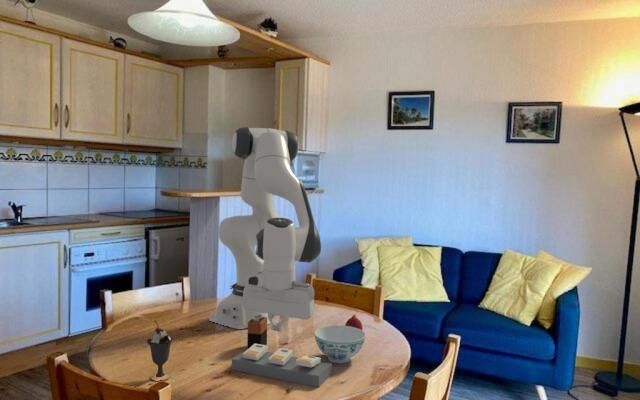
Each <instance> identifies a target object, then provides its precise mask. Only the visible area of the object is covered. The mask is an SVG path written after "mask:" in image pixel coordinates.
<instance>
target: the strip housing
mask: <svg viewBox="0 0 640 400" xmlns="http://www.w3.org/2000/svg"><path fill="white" fill-rule="evenodd" d="M247 350H248V349H247V348H246V350H244V351H242V352H241V353H239V354H238V355H236V356H234V357H232V358H231V370H232V369H233V370H232V371H235V370H237V372H240V371H241V373H245V372H246V374H251V375H255V376H256V375H257V376H260V377H266V378H270V379H276V380H280V381H285V382H290V383H296V384H300V385H305V386H309V387H310V386H311V387H315V388H320V387H321V386H322V385H323V384H324V383H325V382H326V381H327V380H328V379H329V377H331V376H332V372H333V369H332V367H333V364H332V362H325V361H320V363H318V364H316V366H315V367H314V366H313V367H306V366H301V365H296V360H297V359H299V358H300V357H298V356H294V355H293V356H292V357H291V358H290V359H289V361H288V362H286V363H285V364H284V365H279V364H274V363H269V358H270V357H271V356H272V355H273V354H274V353H275V352H269V351H267V352H266V353H265V354H263V356H262V357H260V358H259V359H258V360H252V359H247V358H243V353H244V352H246V351H247Z"/></svg>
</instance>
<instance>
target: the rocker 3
mask: <svg viewBox="0 0 640 400" xmlns="http://www.w3.org/2000/svg"><path fill="white" fill-rule="evenodd" d="M298 358H299V359H297V360H296V365H301V366H306V367H313V366H314V367H315V366H316V364H318V363H320V362H322V361H321V359H322V358H321V357H318V356H313V355H308V354H306V355H304V356H301V357H298Z"/></svg>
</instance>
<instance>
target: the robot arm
mask: <svg viewBox="0 0 640 400" xmlns="http://www.w3.org/2000/svg"><path fill="white" fill-rule="evenodd" d="M234 132H235V133H234V134H233V137H232V139H231V147H232V148H231V149H232V150H233V151H232V152H233V155H234V156H235V157H237V158H238V159H241V160H244V163H243V168H242V175H241V176H242V178H241V186H240V187H241V188H240V197H241V200H242V201H243V202H244V203H245V204H246V205H248V206H250V207H251V209H252V212H251V213H252V214H249V215H248V214H247V215H246V214H245V215H234V216H230V217H226V218H223V219H222V220H221V222H220V223H219V225H218V229H217V235H218V239H219V241H220V242H221V244H223V245H224V246H225V247H227V248H228V249H229V251H230V252H231V254H232V256H233V257H234V258H233V259H234V261H235V264H236V265H235V266H236V283H234V284H233V285H229V287H230V288H229V289H230V290H232V292H231V293H230V294H229V295H227V296H226V297H224V298H223V299H222V300H221V301H219V303H218V304H217V306H216V310H215V311H216V312H215V314H213V315H211V316H210V317H209V321H212V322H215V323H214V324H216V323H218V324H217V325H220V324H221V325H220V326H223V325H224V327H227V326H228V327H229V328H232V329H235V330H243V329H248V322H249V321H250V320H251V319H252V318H254V317H255V316H257V315H262V317H267V326H268V325H271V326H270V329H271V331H276V332H281V333H282V332H283V331H284V327H285V323H287V322H286V321H288V319H289V318H295V319H301V320H309V319H311V318H312V317H313V316H314V315H315V299H314V298H315V288H314V287H313V286H312V285H311V284H310V283H307V282H301V281H296V271H297V270H296V264H295V262H298V263H308V264H310V263H312V262H313V261H315V260H316V259H317V258H318V257H319V256H320V254H321V253H322V252H321V251H322V241H321V236H320V233H319V231H318V228H317V226H316V223H315V220H314V216H313V213H312V208H311V205H310V202H309V201H310V200H309V197H308V195H307V190H306V188H305V185H304V183H303V181H302V179H300V178H298V177H297V175H295V174H294V171H293V169H292V167H291V162H292V161H293V160H295V159H296V157H297V155H298V152H299V150H300V149H299V147H300V146H299V145H300V144H299V139H298V136H297V135H296V134H295V132H292V131H288V130H281V129H276V128H270V127H267V128H264V127H263V128H262V127H248V126H245V127H238V128H237V129H236V130H235V131H234ZM273 196H277V197H279V198H282V199H284V200H285V201H288V202H290V204H292V206H293V207H294V210H295V213H296V218H297V222H298V226H299V227H296V226H295V223H294V221H293V220H291V218H285V217H281V216H280V215H279V214H278V213H277V212H276V209H275V206H274V201H273V199H274V198H273ZM255 247H256V248H255ZM276 316H279V319H280V322H277V320H276ZM212 322H211V323H212Z"/></svg>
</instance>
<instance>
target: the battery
mask: <svg viewBox="0 0 640 400" xmlns="http://www.w3.org/2000/svg"><path fill="white" fill-rule="evenodd" d="M246 338H247V342H246V343H247V347H246V350H247V349H249V348H250V347H251V346H252V345H253V344H261V345H267V346H268V325H267V317H262V315H257V316H255V317H254V318H252V319H251V320H250V321H249V322H248V328H247V337H246Z"/></svg>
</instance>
